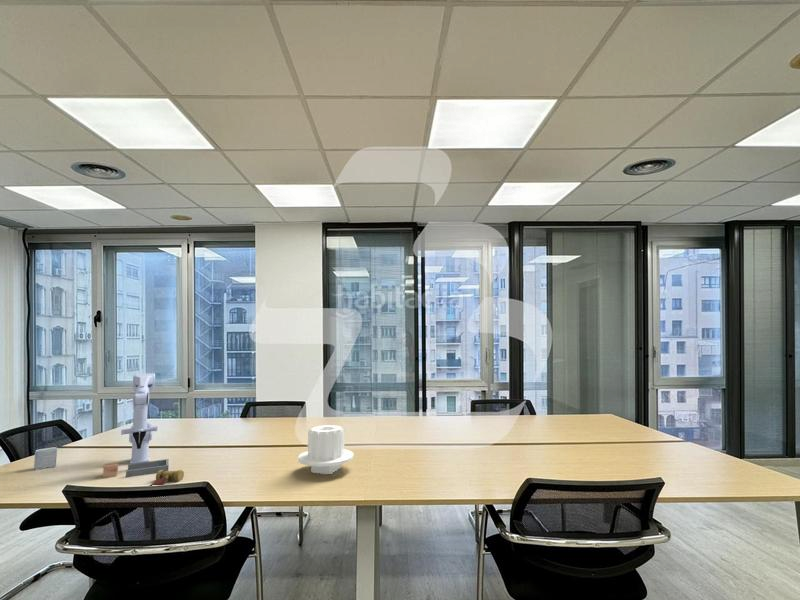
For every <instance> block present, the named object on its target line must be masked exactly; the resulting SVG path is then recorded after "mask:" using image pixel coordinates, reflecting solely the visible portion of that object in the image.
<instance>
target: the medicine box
mask: <svg viewBox="0 0 800 600" xmlns="http://www.w3.org/2000/svg"><path fill="white" fill-rule="evenodd" d="M57 454H58V447H56V446H55V447H46V448H40V449H35V450H34V463H33V469H39V470H42V469H41V468H45V469H48V468H47V467H51V468H54V467H53V466H56V467H57V456H58V455H57Z"/></svg>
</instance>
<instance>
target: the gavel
mask: <svg viewBox="0 0 800 600" xmlns="http://www.w3.org/2000/svg"><path fill="white" fill-rule="evenodd" d="M184 477H185V474H184V470H181V469H178V470H168V471H165V470H159V471H158V472H157V473H155V481H154V482H153V483H151V484H150V485H149V486H152V485H161V486H162V485H165V483H166V482H178V483H179V482H182V480H183V478H184Z"/></svg>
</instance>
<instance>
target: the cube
mask: <svg viewBox="0 0 800 600" xmlns="http://www.w3.org/2000/svg"><path fill="white" fill-rule="evenodd" d="M102 473H103V474H102V479H107V478H108V479H109V478H114V477H117V476H118V474H119V461H116V462H110V463H109V462H108V463H107V462H106V463H105V464H104V466H103V470H102Z"/></svg>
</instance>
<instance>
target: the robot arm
mask: <svg viewBox="0 0 800 600" xmlns="http://www.w3.org/2000/svg"><path fill="white" fill-rule="evenodd" d="M155 384H156V374H155V372H151V373H150V372H149V373H134V374H133V376H132V386H133V391H134V395H132V409H133V412H132V413H133V414H132V415H133V416H132V417H133V418H132V425H131V426H130V428H126V429H121V431H120V433H121V434H120V435H121V436H123V435H128V441H129V443H131V458H130V461H129V464H133V463H141V462H149V461H150V455H149V450H150V449H149V447H150V441H152V439H153V432H158V426H153V425H152V424H151V423H149V422H148V413H149V412H148V409H149V408H148V407H149V403H150V393H151V392H152V391H154V390H155Z"/></svg>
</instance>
